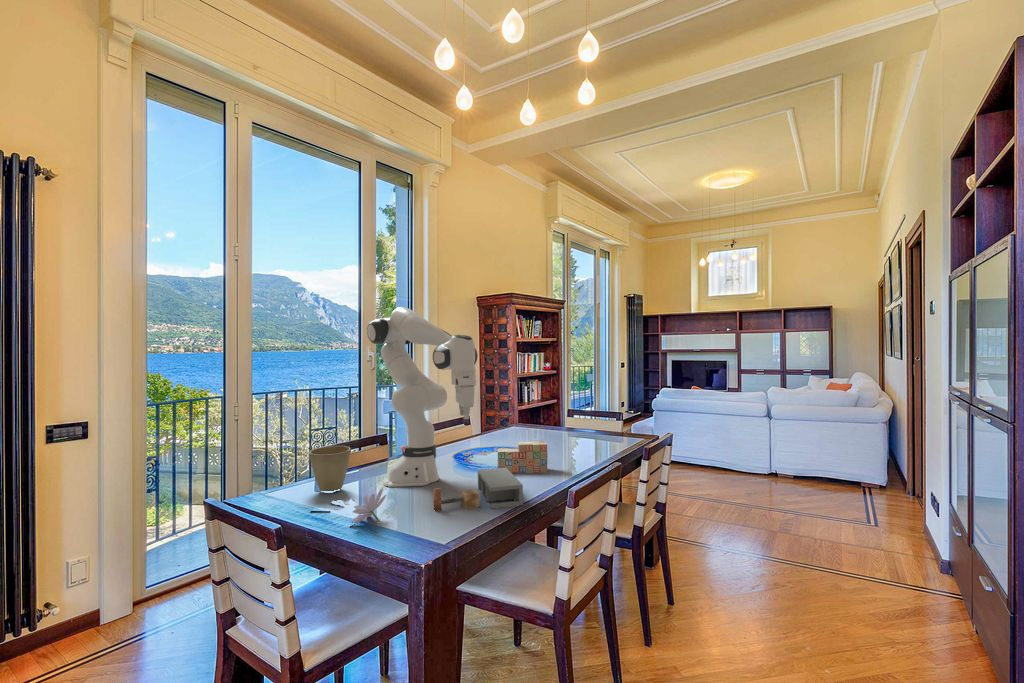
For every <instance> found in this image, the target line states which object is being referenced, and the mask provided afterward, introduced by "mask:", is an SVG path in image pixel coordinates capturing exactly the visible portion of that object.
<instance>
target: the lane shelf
mask: <svg viewBox="0 0 1024 683" xmlns="http://www.w3.org/2000/svg"><path fill="white" fill-rule="evenodd" d="M523 488H524V486H523V483H521V481H520V480H519V479H518V478H517V477H515V475H514V473H511V472H510V471H509V470H508V469H507V468H498V467H497V468H486V469H485V468H484V469H477V489H478V490H481V495H482V496H485V502H486V501H491V503H490V504H489V505H490V506H489V507H490V509H491V508H496V509H500V508H499V507H505V508H512V507H511V506H515V507H519V506H518V505H523V506H524V498H523V497H524V494H523V493H524V492H523ZM505 499H511V500H509V501H506V500H505ZM514 499H515V500H514ZM496 500H501V501H500V502H497V501H496ZM492 502H493V503H492Z"/></svg>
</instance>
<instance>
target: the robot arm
mask: <svg viewBox="0 0 1024 683" xmlns="http://www.w3.org/2000/svg"><path fill="white" fill-rule="evenodd" d="M366 334H367V338H368V339H369V340H368V341H370V342H371V343H372V344H374V345H382V344H383V345H382V347H381V350H380V353H381V354H380V355H381V358H382V361H383V364H384V366H385V367H386V369H387V371H388V373H389V375H390V376H391V378H392V380H393V381H394V383H395V384H396V385H397V386H398V387H400V388H398V389H395V391H394V392H393V394H392V395H391V401H390V402H391V406H392V408H393V410H394V411H395V412H396V413H397V414H399V415H400V416H401V418H402V420H403V422H404V423H405V426H406V427H405V428H406V437H407V440H406V441H407V443H406V444H407V445H402V446H401V448H400V449H401V450H400V451H401V452H402V456H400V457H399V458H398V459H397V460H396V461H394V462H393V463H392V464H391V465H390V467H389V471H388V475H387V476H385V477H384V478H383V483H384V484H383V485H384V486H386V487H387V486H388V488H392V487H393V488H394V487H395V488H396V487H420V486H421V487H422V486H423V487H424V486H427V485H429V484H431V483H435V482H437V481H439V480H440V476H439V472H438V467H437V462H436V460H437V458H436V457H437V446H436V442H435V441H436V440H435V426H434V425H433V423H431V422H430V421H428V420H427V418H426V416H425V412H429V411H435V410H437V409H439V408H442V407H443V406H445V405H446V403H447V400H448V393H447V390H446V388H445V387H444V386H443V385H441V384H439V383H436V382H434V381H432V380H431V379H430V378H429V377H427V376H426V375H425V374H424V373H423V372H422V371H421V370H419V368H418V366H417V364H416V363H415V362H414V360H413V359H412V357H411V355H410V354H409V352H408V351H407V349H406V345H409V344H411V343H412V344H415V345H431V346H435V348H434V350H433V352H432V362H433V364H434V366H435V367H436V368H437V369H439V370H443V371H444V370H445V371H447V370H451V373H450V374H451V377H450V378H451V385H453V386H454V388H455V402H456V403H458V408H459V409H458V410H459V415H460V416H463V419H464V420H469V419H470V411H471V408H473V407H474V404H475V389H476V388H475V386H476V385H477V379H476V378H477V377H476V376H477V375H476V373H477V372H476V371H477V370H476V367H475V365H476V363H477V361H478V356H479V355H478V351H477V349H476V347H475V342H474V339H473V337H471V336H470V335H466V334H454V335H452V334H450V333H449V332H447V331H445V329H444V330H443V329H442V328H440V327H438V326H437V325H434V324H433V323H431V322H430V321H428V320H426V319H425V318H424V317H423V316H421V315H420V314H418V312H415V311H414V310H412V309H411V308H408V307H404V306H399V307H396V308H395V309H394V310H393V311H392V312H391V314H390V316H389V317H384V318H376V319H374V320H372V321H369V323H368V324H367V327H366Z"/></svg>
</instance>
